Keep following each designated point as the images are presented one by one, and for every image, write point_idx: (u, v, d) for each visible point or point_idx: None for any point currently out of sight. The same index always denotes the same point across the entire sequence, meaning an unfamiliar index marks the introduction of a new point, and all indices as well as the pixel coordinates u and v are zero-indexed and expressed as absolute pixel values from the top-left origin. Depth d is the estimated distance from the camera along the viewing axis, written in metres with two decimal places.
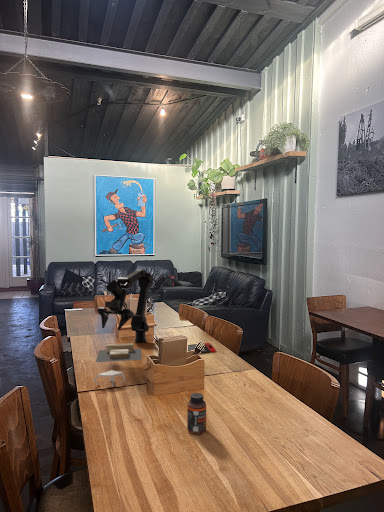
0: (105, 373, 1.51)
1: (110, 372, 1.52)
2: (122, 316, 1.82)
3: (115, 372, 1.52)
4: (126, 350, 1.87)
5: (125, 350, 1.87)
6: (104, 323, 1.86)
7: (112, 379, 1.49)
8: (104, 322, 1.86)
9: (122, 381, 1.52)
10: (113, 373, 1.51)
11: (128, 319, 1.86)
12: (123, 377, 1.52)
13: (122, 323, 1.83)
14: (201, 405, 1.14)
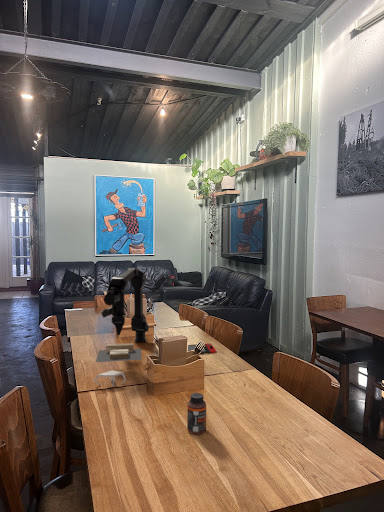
0: (106, 373, 1.51)
1: (110, 372, 1.52)
2: (113, 323, 1.79)
3: (116, 372, 1.52)
4: (126, 350, 1.87)
5: (125, 350, 1.87)
6: None
7: (113, 379, 1.49)
8: None
9: (123, 381, 1.52)
10: (114, 373, 1.51)
11: None
12: (124, 377, 1.52)
13: (118, 329, 1.80)
14: (201, 405, 1.14)
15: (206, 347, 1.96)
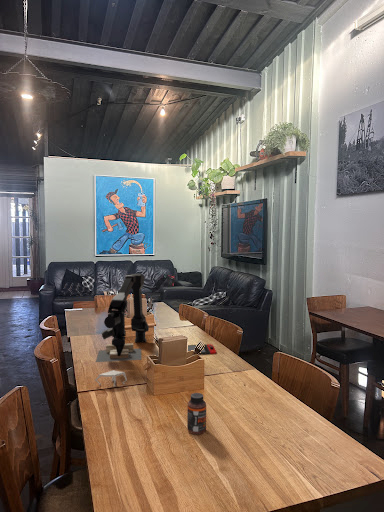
0: (107, 373, 1.51)
1: (111, 372, 1.52)
2: None
3: (117, 372, 1.53)
4: (126, 350, 1.87)
5: (125, 350, 1.88)
6: None
7: (114, 379, 1.49)
8: None
9: (124, 381, 1.52)
10: (115, 373, 1.51)
11: (123, 344, 1.81)
12: (125, 377, 1.52)
13: (118, 350, 1.82)
14: (201, 405, 1.14)
15: (207, 348, 1.95)
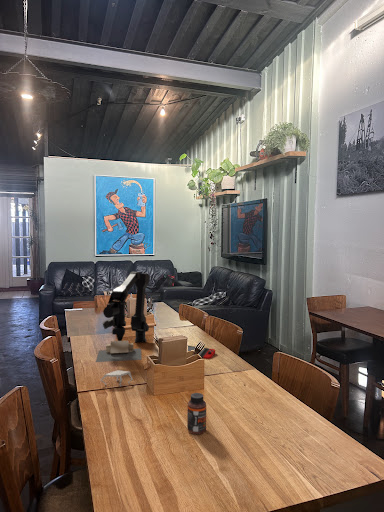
0: (112, 373, 1.51)
1: (116, 372, 1.52)
2: None
3: (122, 371, 1.53)
4: (126, 345, 1.90)
5: (125, 344, 1.90)
6: None
7: (120, 379, 1.49)
8: None
9: None
10: (120, 373, 1.52)
11: None
12: (130, 376, 1.53)
13: (119, 337, 1.92)
14: (201, 405, 1.14)
15: (205, 352, 1.88)
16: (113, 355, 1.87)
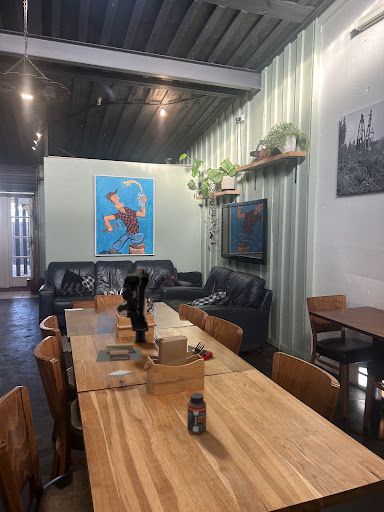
0: (115, 373, 1.51)
1: (119, 372, 1.52)
2: (128, 316, 1.94)
3: (125, 371, 1.53)
4: None
5: None
6: None
7: (123, 378, 1.50)
8: None
9: (132, 380, 1.53)
10: (123, 372, 1.52)
11: None
12: (133, 376, 1.53)
13: (133, 321, 1.95)
14: (201, 405, 1.14)
15: (201, 354, 1.85)
16: None
